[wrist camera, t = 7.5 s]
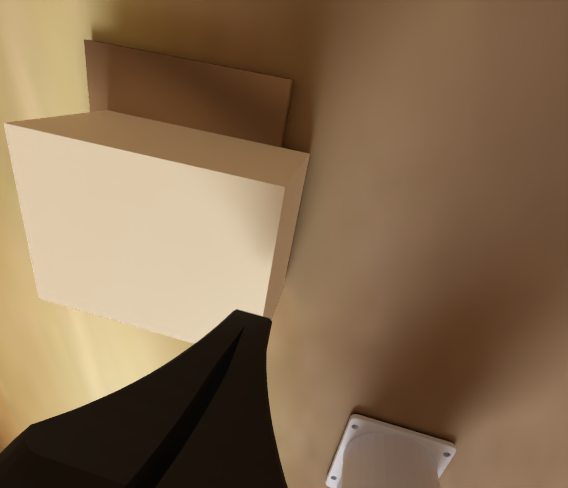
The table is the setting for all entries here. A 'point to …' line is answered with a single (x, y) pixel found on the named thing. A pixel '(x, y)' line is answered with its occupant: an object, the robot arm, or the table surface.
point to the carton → (155, 219)
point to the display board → (188, 93)
